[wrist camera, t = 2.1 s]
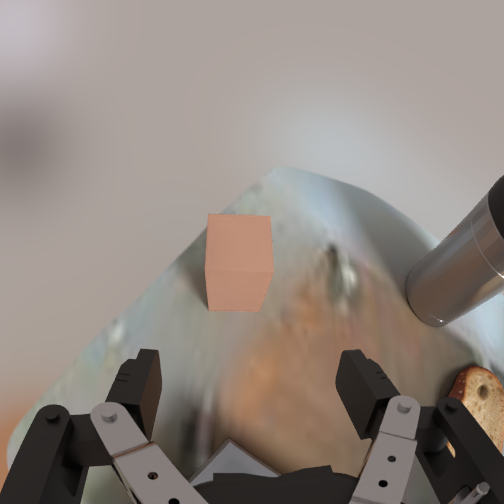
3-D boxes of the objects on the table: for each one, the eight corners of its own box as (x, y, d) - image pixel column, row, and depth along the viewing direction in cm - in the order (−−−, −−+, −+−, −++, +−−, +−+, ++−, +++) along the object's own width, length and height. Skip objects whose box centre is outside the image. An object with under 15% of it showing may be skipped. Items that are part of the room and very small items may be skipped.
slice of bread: (463, 520, 20) (480, 524, 17) (395, 465, 26) (412, 468, 23) (520, 420, 28) (537, 416, 24) (466, 354, 33) (484, 347, 30)
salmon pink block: (210, 265, 36) (208, 213, 27) (258, 266, 36) (270, 216, 28) (208, 310, 33) (204, 270, 25) (259, 311, 34) (273, 272, 25)
